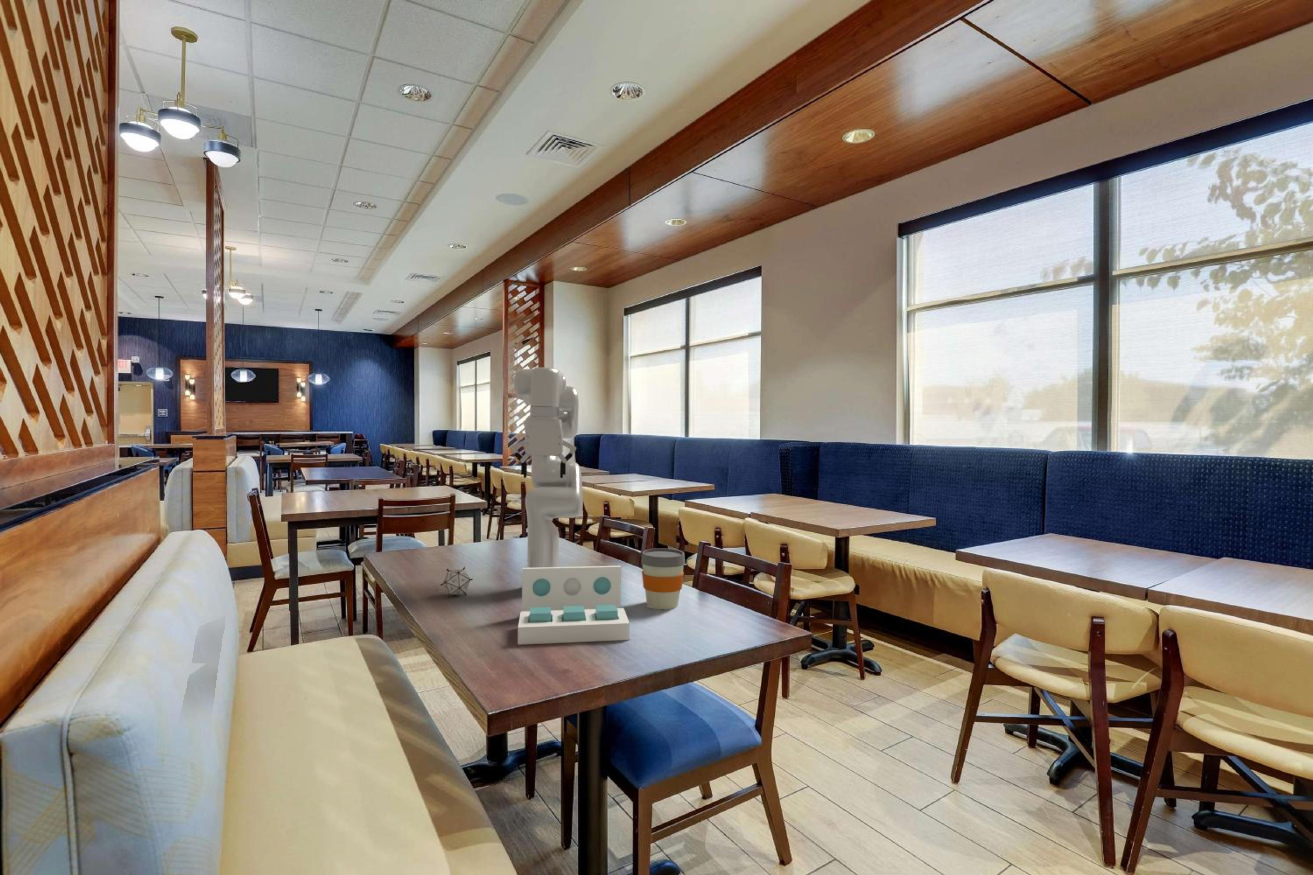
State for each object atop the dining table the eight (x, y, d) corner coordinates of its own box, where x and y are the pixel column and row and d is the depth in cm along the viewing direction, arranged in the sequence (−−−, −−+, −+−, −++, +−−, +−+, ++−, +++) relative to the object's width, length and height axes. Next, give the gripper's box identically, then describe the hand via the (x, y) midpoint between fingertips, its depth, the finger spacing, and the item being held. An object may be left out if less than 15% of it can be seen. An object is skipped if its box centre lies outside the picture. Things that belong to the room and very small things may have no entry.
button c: (595, 618, 152) (595, 605, 152) (615, 618, 153) (615, 604, 153) (596, 625, 147) (597, 611, 147) (617, 624, 148) (617, 610, 148)
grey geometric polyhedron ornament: (460, 609, 178) (465, 587, 173) (433, 598, 178) (437, 575, 173) (474, 587, 186) (479, 565, 180) (448, 577, 186) (452, 555, 180)
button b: (563, 619, 150) (563, 606, 150) (583, 619, 151) (583, 605, 151) (563, 626, 146) (563, 612, 145) (584, 625, 146) (584, 611, 146)
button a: (530, 621, 149) (530, 607, 149) (550, 620, 150) (551, 606, 150) (529, 627, 144) (529, 613, 144) (550, 627, 145) (551, 612, 145)
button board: (520, 627, 152) (520, 611, 152) (623, 623, 157) (623, 608, 157) (517, 644, 140) (518, 627, 140) (629, 639, 145) (629, 623, 145)
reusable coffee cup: (650, 613, 165) (651, 558, 165) (633, 600, 177) (634, 549, 177) (691, 608, 170) (692, 555, 170) (672, 596, 182) (673, 547, 182)
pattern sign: (522, 613, 163) (523, 565, 163) (618, 610, 167) (619, 563, 167) (521, 620, 157) (522, 571, 157) (621, 617, 162) (622, 568, 161)
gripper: (576, 414, 168) (575, 476, 168) (512, 413, 165) (511, 476, 165) (577, 414, 161) (576, 478, 161) (510, 413, 158) (509, 478, 158)
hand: (543, 477), depth 163 cm, fingers open, 9 cm apart
